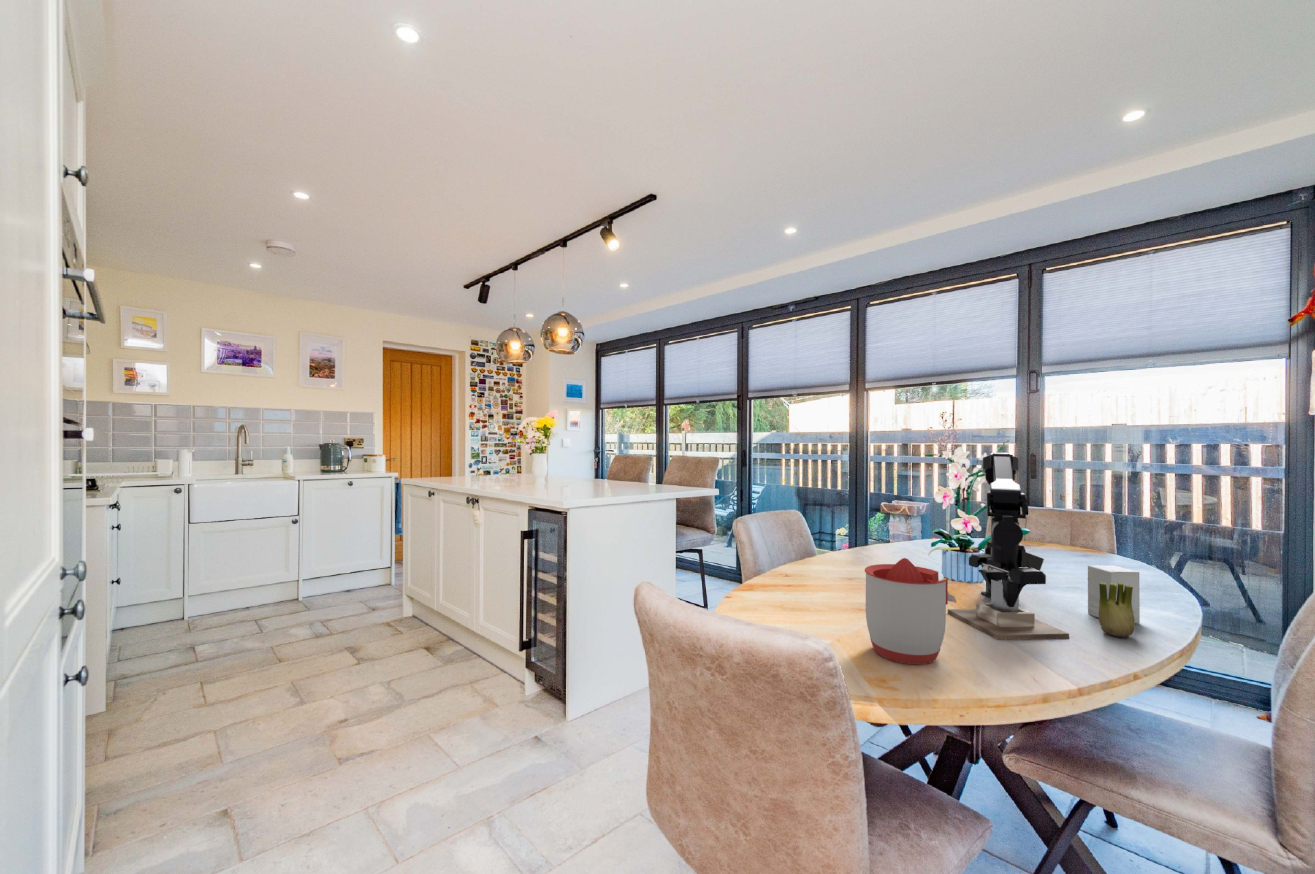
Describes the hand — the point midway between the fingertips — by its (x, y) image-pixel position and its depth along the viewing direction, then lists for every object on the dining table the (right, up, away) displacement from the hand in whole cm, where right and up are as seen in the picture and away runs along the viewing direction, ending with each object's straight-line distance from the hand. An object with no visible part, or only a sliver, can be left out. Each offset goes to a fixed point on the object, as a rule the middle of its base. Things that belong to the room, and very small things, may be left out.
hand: (1004, 603), depth 129 cm
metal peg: (0, -3, 0) cm, 2 cm away
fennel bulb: (+22, -5, -6) cm, 23 cm away
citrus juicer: (-32, -5, -18) cm, 37 cm away
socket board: (0, -5, 0) cm, 5 cm away
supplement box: (+31, -6, +5) cm, 31 cm away
